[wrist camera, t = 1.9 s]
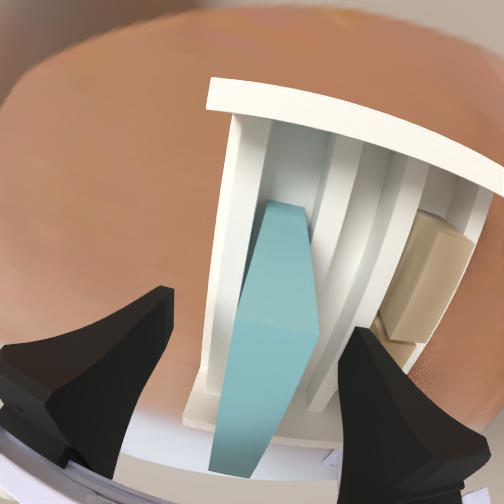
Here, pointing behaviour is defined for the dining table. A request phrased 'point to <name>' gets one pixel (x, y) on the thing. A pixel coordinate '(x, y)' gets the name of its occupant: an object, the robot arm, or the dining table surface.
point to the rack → (326, 226)
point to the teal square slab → (267, 341)
